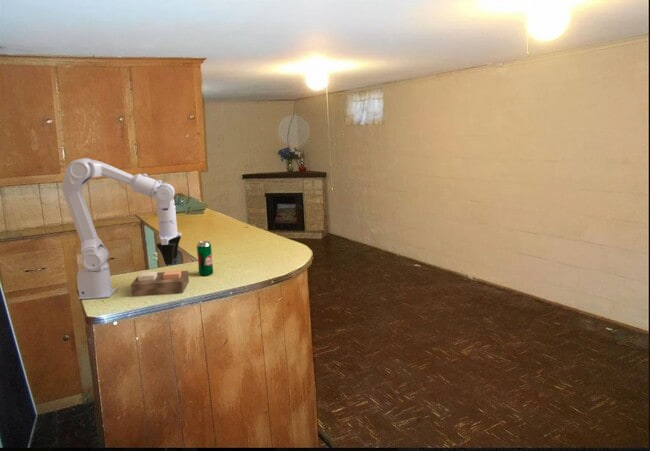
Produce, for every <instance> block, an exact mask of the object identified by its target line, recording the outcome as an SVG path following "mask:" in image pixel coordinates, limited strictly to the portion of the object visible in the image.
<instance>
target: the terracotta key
mask: <svg viewBox="0 0 650 451" xmlns="http://www.w3.org/2000/svg"><path fill="white" fill-rule="evenodd" d="M181 271H182V269H173V270H172V269H170V270H165V271H164V272H165V273H164V274H163V280H166V279H180V277H181V276H182V273H181Z"/></svg>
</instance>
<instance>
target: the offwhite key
mask: <svg viewBox="0 0 650 451" xmlns="http://www.w3.org/2000/svg"><path fill="white" fill-rule="evenodd" d="M157 273H158V271H157V270H156V271H155V270H154V271H141V272H140V273H139V274H140V275H137V277H138V281H150V280H155V279H156V278H157Z"/></svg>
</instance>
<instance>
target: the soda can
mask: <svg viewBox="0 0 650 451" xmlns="http://www.w3.org/2000/svg"><path fill="white" fill-rule="evenodd" d="M212 251H213V250H212V244H211V241H209V240H200V241H198V242H197V245H196V252H197V253H196V254H197V264H198V274H199V275H200V276H201V277H207V276H212V275H213V274H214V265H213V252H212Z"/></svg>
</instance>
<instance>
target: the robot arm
mask: <svg viewBox="0 0 650 451" xmlns="http://www.w3.org/2000/svg"><path fill="white" fill-rule="evenodd" d="M98 177H99V178H100V177H106V178H109V179H111V180H114V181H117V182H121V183H123V184H126V185H128V186H130V188H131V190H132V191H133V192H136V193H139V194H141V195H144V196H147V197H149V198H154V199H155V200H156V206H157V207H156V213H157V214H156V215H157V222H158V238H159V239H160V242H159V243H156V248H157V249H158V250H159V251H160V254H161V256H162V259H163V262H164V265H169V266H170V265H173V262H174V259H177V258H178V250H179V243H180V241H181V239H182V235H183V234H182V232H178V224H177V223H178V222H177V212H176V206H175V204H176V202H175V198H174V196H175V193H176V192H175V187H173V185H172V184H169V183H168V182H163V180H160V179H158V180H156V179H154V178H151V177H149V176H148V174H147V173H138V174H135V175H133V174H131V173H128V172H126V171H124V170H121V169H120V168H117V167H115V166H112V165H110V164H107V162H105V163H104V162H103V161H99V160H94V159H92V158H90V157H82V158H80V159H79V158H77V159H75V160H72V161H71V162H70V163H69V164H68V165H67V166H66V168H65V169H64V177H63V182H62V185H61V191H62V194H63V196H64V199H65V202H66V204H67V207H68V210H69V213H70V216H71V219H72V221H73V224H74V227H75V230H76V231H77V235H78V238H79V240H80V252H81V253H80V254H81V265H82V266H83V269H79V270H78V272H77V275H76V282H77V289H78V290H77V291H78V300H88V299H89V300H90V299H103V298H105V299H106V298H110V297H111V296H112V295H113V294H114V293H115V292H116V290H117V288H112V279H111V272H110V264H109V263H108V260H109V259H110V258H109V257H110V251H109V250H108V248H107V247H105V245H104V244H103V241H102V239H101V238H100V237H99V236H98V234H97V230H96V227H95V225H94V222H93V219H92V216H91V214H90V211H89V209H88V208H89V207H88V205H87V203H86V200H85V197H84V193H83V191H82V190H83V188H84V187H85V185H86V184H87V182H88V181H89V180H90V179H92V178H98Z"/></svg>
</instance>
